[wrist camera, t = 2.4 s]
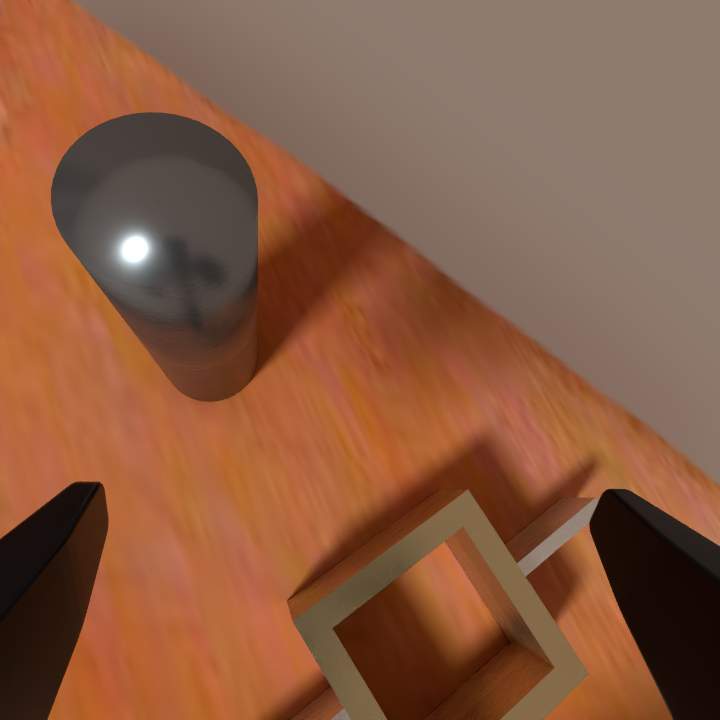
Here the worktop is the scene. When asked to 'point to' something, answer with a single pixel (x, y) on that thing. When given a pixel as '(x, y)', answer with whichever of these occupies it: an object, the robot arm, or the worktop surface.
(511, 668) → the bracket
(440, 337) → the worktop surface
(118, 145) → the hinge pin
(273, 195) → the worktop surface
